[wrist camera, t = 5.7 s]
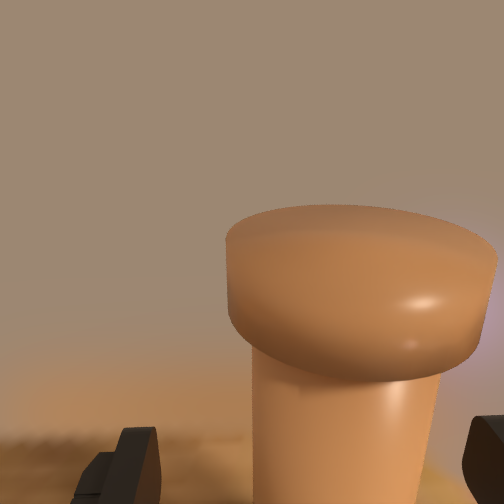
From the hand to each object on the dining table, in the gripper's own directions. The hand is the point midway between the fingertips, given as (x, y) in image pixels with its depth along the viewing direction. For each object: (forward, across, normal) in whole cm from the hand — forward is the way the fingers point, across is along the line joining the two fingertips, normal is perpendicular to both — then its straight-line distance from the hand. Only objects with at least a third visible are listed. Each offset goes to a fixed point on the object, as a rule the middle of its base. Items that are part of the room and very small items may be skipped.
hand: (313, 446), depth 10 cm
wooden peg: (-2, 0, +7) cm, 8 cm away
